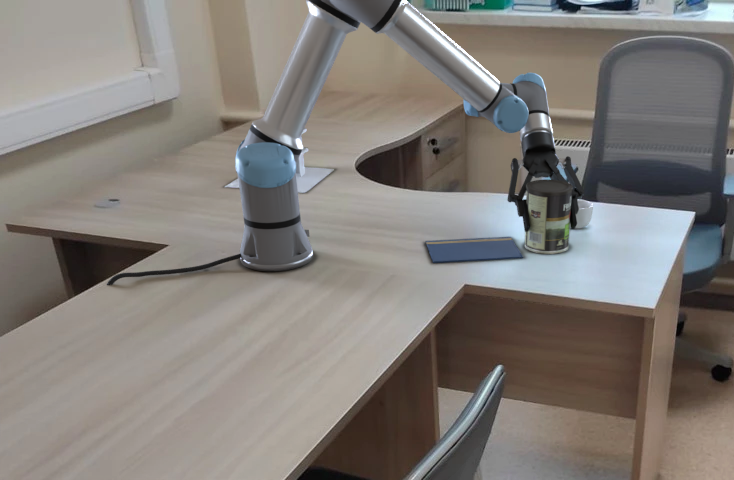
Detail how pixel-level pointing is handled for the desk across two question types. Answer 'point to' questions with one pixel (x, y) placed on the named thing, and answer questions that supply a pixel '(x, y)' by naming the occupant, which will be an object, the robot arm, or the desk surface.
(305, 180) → the architectural model
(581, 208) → the teacup
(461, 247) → the blue flat rectangular block
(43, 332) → the desk surface
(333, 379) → the desk surface
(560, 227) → the coffee can
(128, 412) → the desk surface
